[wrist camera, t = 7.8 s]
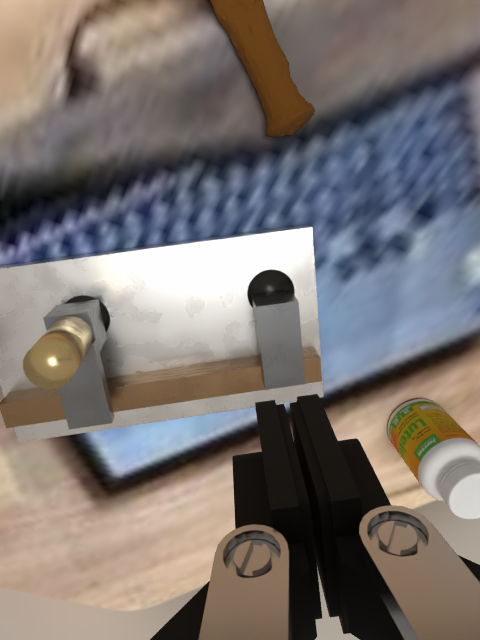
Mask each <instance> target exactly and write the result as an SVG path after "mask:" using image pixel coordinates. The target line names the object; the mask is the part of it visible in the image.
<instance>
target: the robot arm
mask: <svg viewBox="0 0 480 640" xmlns="http://www.w3.org/2000/svg"><path fill="white" fill-rule="evenodd" d="M255 406H256V413H257V420H258V427H259V434H260V441H261V449H262V452H256V453H249V454H242V455H235V456H233V480H234V503H235V526H236V529H235V530H233V531H231V532H230V533H229V534H227V535H226V536H225V537H224V538H223V539H222V541H221V542H220V543H219V544H218V547H217V550H216V552H215V557H214V562H213V567H212V572H211V578H210V581H209V582H208V583H207V584H206V585H205V586H204V587H203V588H202V589H201V590H200V591H199V592H198V593H197V594H196V595H195V596H194V597H193V598H192V599H191V600H190V601H189V602H188V603H187V604H186V605H185V606H184V607H183V608H182V609H181V610H180V611H179V612H178V613H176V615H174V617H172V618H171V619H170V620H169V621H168V622H167V623H166V624H165V625H164V626H163V627H162V628H161V629H160V630H159V631H158V632H157V633H156V634H155V635H154V636H153V637H152V638H151V639H150V640H315V639H316V637H317V632H316V624H315V623H316V622H315V619H321V618H322V612H321V602H320V592H319V582H318V573H317V567H318V571H319V575H320V579H321V583H322V587H323V592H324V596H325V600H326V604H327V608H328V612H329V616H330V617H336V616H339V619H340V622H341V626H342V630H343V633H344V634H346V633H351V634H352V635H354V636H356V637H357V638H359V639H360V640H480V565H478V564H476V563H474V562H472V561H470V560H467V559H465V558H463V557H461V556H459V555H457V554H456V552H455V551H454V550H453V549H452V548H451V547H450V545H449V544H448V543H447V541H446V540H445V539H444V538H443V536H442V535H441V534H440V533H439V532H438V530H437V529H436V528H435V526H434V525H433V524H432V523H431V522H430V521H429V520H428V519H427V518H426V517H425V516H424V515H422V514H420V513H418V512H417V511H415V510H412V509H409V508H406V507H403V506H392V505H391V504H390V502H389V500H388V498H387V496H386V494H385V492H384V490H383V488H382V486H381V484H380V482H379V480H378V478H377V476H376V474H375V472H374V470H373V468H372V466H371V464H370V462H369V460H368V458H367V456H366V454H365V452H364V450H363V448H362V446H361V444H360V442H359V440H358V439H349V440H342V441H337V439H336V436H335V434H334V431H333V429H332V427H331V424H330V422H329V419H328V417H327V415H326V412H325V410H324V408H323V405H322V403H321V400H320V398H319V396H318V394H312V395H305V396H298V397H297V402H294V403H290V411H291V420H292V429H293V437H294V441H293V437H292V433H291V429H290V426H289V422H288V418H287V414H286V410H285V407H284V404H280V405H276V402H275V400H270V401H262V402H255Z"/></svg>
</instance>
